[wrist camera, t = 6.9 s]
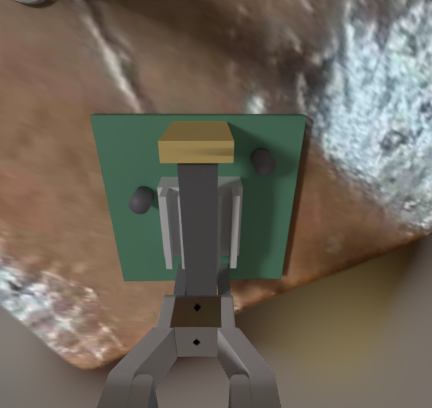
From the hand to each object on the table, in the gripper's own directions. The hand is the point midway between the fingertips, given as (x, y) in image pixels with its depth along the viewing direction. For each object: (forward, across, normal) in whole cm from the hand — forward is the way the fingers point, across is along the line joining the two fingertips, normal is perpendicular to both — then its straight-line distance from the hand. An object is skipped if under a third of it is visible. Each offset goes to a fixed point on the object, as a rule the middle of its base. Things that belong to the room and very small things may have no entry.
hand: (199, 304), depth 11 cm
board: (+18, +1, +4) cm, 18 cm away
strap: (+11, +1, +5) cm, 12 cm away
